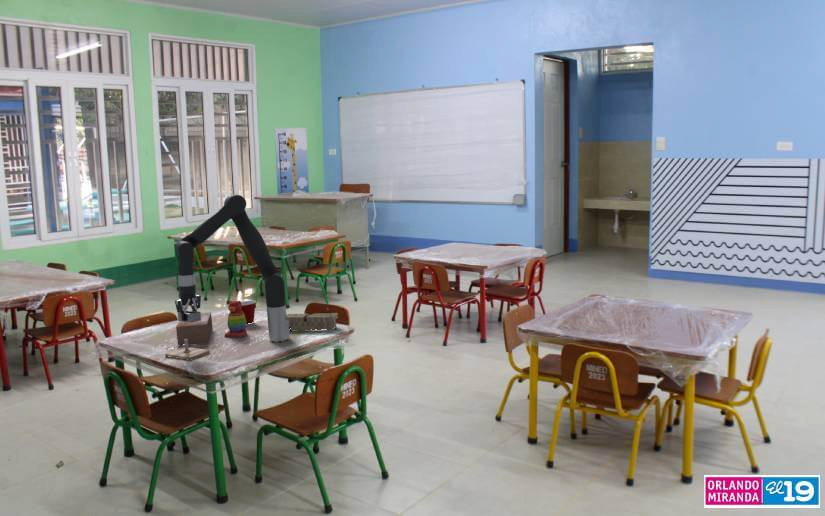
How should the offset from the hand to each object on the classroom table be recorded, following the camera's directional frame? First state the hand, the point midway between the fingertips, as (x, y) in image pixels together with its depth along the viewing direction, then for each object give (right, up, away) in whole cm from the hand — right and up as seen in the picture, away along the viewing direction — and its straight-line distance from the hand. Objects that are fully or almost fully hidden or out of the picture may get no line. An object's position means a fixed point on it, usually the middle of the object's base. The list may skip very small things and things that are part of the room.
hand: (189, 319), depth 338 cm
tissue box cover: (-6, -12, +30) cm, 33 cm away
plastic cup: (+15, -7, +55) cm, 57 cm away
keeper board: (-1, -17, 0) cm, 17 cm away
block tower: (+51, -9, +37) cm, 63 cm away
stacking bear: (+15, -11, +32) cm, 37 cm away
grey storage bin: (0, -1, 0) cm, 0 cm away
